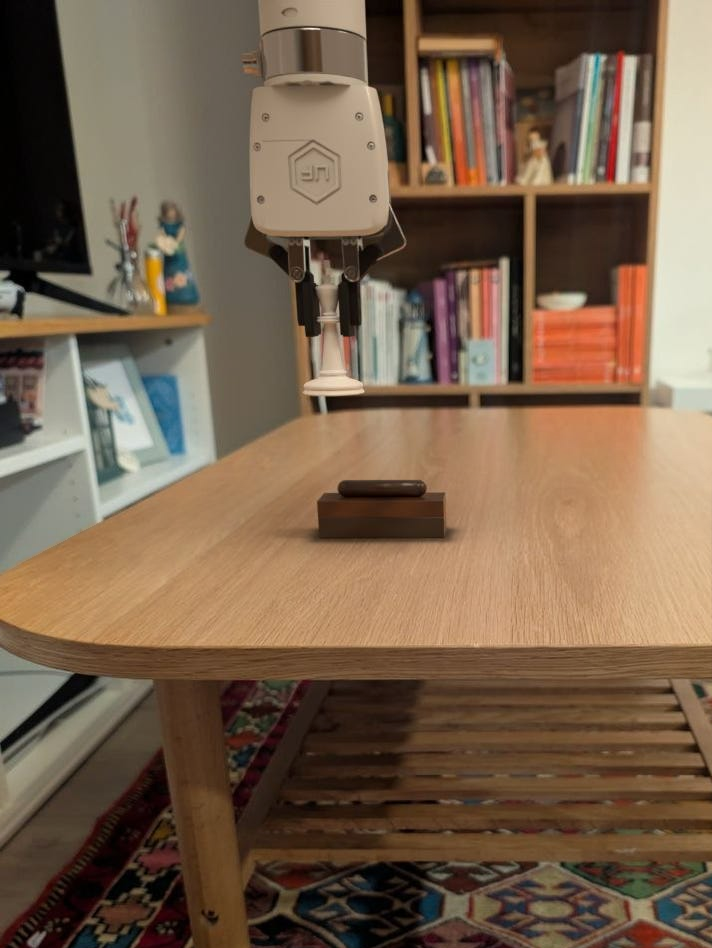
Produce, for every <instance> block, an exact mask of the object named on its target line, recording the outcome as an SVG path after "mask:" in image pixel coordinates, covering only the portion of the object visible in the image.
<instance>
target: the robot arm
mask: <svg viewBox="0 0 712 948" xmlns="http://www.w3.org/2000/svg"><path fill="white" fill-rule="evenodd" d="M257 4H258V18H259V19H258V20H259V32H260V38H258V46H256V50H252V52H243V53H242V56H241V61H242V62H241V63H242V70H243V72H244V74H245V75H254V76H255V77H259V78H260V79H261V81H262V83H263V84H264V85H263V86H257V87H254V88H253V90H252V91H253V92H252V97H251V104H250V120H249V121H250V122H249V197H250V198H249V199H250V201H249V202H250V212H251V213H250V214H251V217H250V220H249V223H248V226H247V228H246V233H245V235H244V238H243V245H244V247H245V248H246V249H247V250H250V251H251V252H254V253H256V254H258V255H261V256H262V257H265V258H268V259H269V260H272V261H273V262H274V263H275V264H276V265H277V266H278V267H279V268H280V269H281V270H282V271H283V272H285V274H286V275H287V276H288V277H289V278H290V280H291V281H292V282H293V283H294V287H295V288H294V289H295V303H296V305H295V307H296V319H297V320H296V321H297V325H298V327H304V332H305V333H304V334H305V337H306V338H316V337H319V336H320V335H322V323H320V322H317V321H316V320H317V317H321V305H320V302H319V299H318V296H317V294H316V291H315V287H316V286H318V285H319V284H317V282H315V275H314V273H312V258H311V257H312V256H311V240H341V251H342V254H341V255H342V264H343V265H342V267H343V272H342V273H341V274H340V279H341V281H340V282H339V283H337V285H338V315H339V319H340V322H339V332H340V333H339V334H340V336H342V337H343V338H352V337H355V336H356V327H360V326H362V321H363V320H362V318H363V317H362V316H363V315H362V297H361V282H362V281H363V280H364V278H365V277H366V276H367V275H368V273H369V272H370V271H371V270H372V269H373V268H374V267H375V266H376V264H377V263H378V262H379V261H380V260H382V259H384V258H386V257H388V256H391V255H392V254H394V253H397V252H399V251H401V250H402V249H404V248H406V246H407V239H406V237H405V234H404V233H403V230H402V227H401V225H400V223H399V221H398V218H397V216H396V213H395V211H394V209H393V207H392V195H391V181H390V179H391V178H390V169H389V159H388V149H387V139H386V135H385V134H386V133H385V128H384V127H385V126H384V120H383V114H382V109H381V104H380V103H381V102H380V98H379V94H378V91H377V89H376V88H375V87H372V86H369V76H368V75H369V72H368V71H369V70H368V49H367V48H368V47H367V45H368V44H367V23H366V21H367V20H366V0H257ZM269 236H271V237H276V238H279V239H284V240H286V241H287V247H286V246H284V245H281V244H280V243H277V242H275V241H273V240H271V239H270V238H269ZM379 237H381V238H379ZM375 238H379V239H377V240H376V241H374V242H371V243H370V244H367V245H365V246H363V240H366V239H368V240H369V239H375Z"/></svg>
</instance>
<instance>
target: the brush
mask: <svg viewBox="0 0 712 948" xmlns="http://www.w3.org/2000/svg"><path fill="white" fill-rule="evenodd" d="M336 489H337V490H336V491H337V492H324V493H323V494H322V495H320V497H319V498H318V499H317V500H316V509H317V522H318V523H317V526H318V537H319V539H427V538H428V539H440V538H441V539H442V538H443V539H444V538H445V536H446V531H447V496H446V495H447V493H446V492H444V491H443V492H441V491H439V492H434V491H433V492H427V490H428V487H427V484H426V482H425V481H423V480H421V479H344V480H341V481H340V482H339V483H338V484H337V488H336Z"/></svg>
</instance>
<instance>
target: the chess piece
mask: <svg viewBox="0 0 712 948" xmlns="http://www.w3.org/2000/svg"><path fill="white" fill-rule="evenodd" d="M322 266H323V267H322V268H321V275H322V276H323V283H321V284H317V285H318V286H316V287H315V291H316V294H317V296H318V299H319V302H320V309H321V310H322V313H321V315H322V316H321V315H320V317H317V320H316V321H317V322H320V323H321V324H323V346H322V361H321V370H320V371H317V373H318V374H319V375H320V376H318V377H316V378H314V379H311V380H308V381H306V382H305V383H304V384H303V389H304V390H303V391H302V394H303V395H305V396H310V397H311V396H312V397H343V396H345V397H346V396H356V395H363V394H364V393H365V389H364V383H363V382H362V381H359V380H357V379H354V378H351V377H349V376H347V375H346V374H347V373H348V371H347V370H345V369H344V365H343V361H342V356H341V354H342V353H341V350H340V344H339V343H340V342H339V336H338V329H337V324H340V319H339V316H338V314H337V309H338V306H339V300H338V284H334V283H332V280H331V278H332V277H331V276H332V275H333V269H332V268H331V260H330V259H323V260H322Z"/></svg>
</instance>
